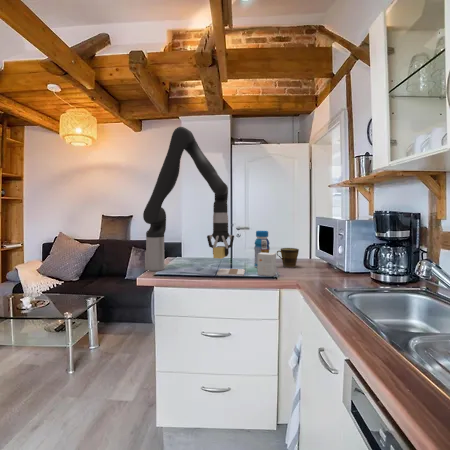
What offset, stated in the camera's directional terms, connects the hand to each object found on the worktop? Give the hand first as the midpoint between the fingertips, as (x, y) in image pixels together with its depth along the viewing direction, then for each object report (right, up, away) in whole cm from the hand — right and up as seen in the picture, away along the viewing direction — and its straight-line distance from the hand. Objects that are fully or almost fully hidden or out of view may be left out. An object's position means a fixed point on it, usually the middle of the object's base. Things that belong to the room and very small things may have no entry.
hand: (220, 255), depth 150 cm
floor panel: (+5, -9, 0) cm, 10 cm away
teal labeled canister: (+22, -8, +16) cm, 29 cm away
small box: (+22, -9, -4) cm, 25 cm away
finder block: (0, -1, 0) cm, 1 cm away
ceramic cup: (+37, -8, +17) cm, 41 cm away
